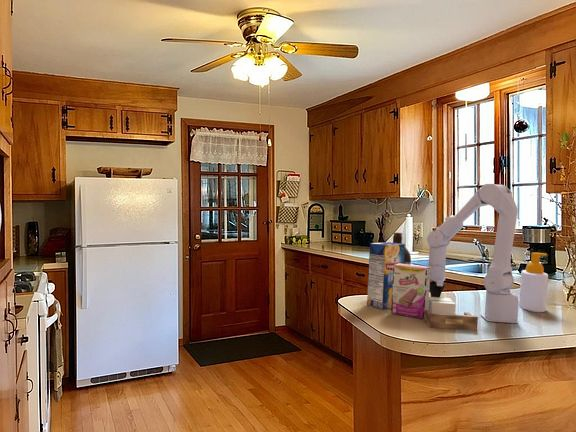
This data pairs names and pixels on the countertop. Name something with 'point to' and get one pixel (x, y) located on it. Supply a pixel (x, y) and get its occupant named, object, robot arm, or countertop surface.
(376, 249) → the beverage box
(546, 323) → the countertop surface
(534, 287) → the soap bottle
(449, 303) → the carton
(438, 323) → the display stand
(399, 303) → the candy bar box
